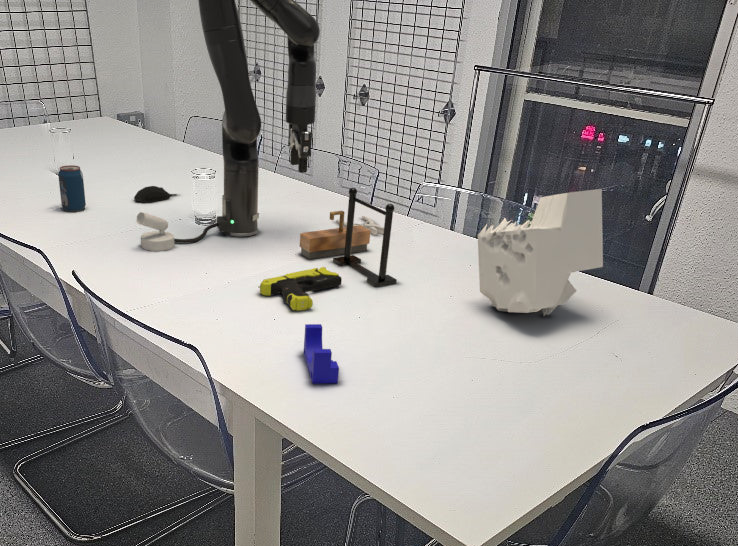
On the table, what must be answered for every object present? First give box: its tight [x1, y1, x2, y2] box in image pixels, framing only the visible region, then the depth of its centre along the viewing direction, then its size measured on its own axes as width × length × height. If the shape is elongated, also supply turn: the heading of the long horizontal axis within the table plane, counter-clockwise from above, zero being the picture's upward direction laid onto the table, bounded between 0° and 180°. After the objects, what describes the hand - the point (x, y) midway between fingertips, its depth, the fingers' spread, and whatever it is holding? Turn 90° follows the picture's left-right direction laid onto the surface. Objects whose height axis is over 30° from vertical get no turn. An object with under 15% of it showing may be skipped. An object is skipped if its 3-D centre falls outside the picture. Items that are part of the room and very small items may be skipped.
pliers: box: [336, 215, 384, 236], centre depth 212 cm, size 10×2×15 cm
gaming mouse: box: [133, 185, 177, 203], centre depth 232 cm, size 6×15×4 cm, turn 129°
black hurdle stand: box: [332, 187, 398, 288], centre depth 176 cm, size 6×19×18 cm, turn 27°
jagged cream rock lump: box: [477, 188, 604, 317], centre depth 157 cm, size 20×16×25 cm
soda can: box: [57, 164, 87, 213], centre depth 217 cm, size 7×7×12 cm
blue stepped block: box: [303, 323, 340, 385], centre depth 135 cm, size 12×4×6 cm, turn 5°
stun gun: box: [257, 266, 343, 312], centre depth 167 cm, size 3×19×15 cm
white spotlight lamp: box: [135, 211, 175, 252], centre depth 191 cm, size 9×10×10 cm
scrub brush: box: [299, 210, 371, 260], centre depth 190 cm, size 18×5×11 cm, turn 117°
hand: (298, 168), depth 198 cm, fingers open, 8 cm apart
